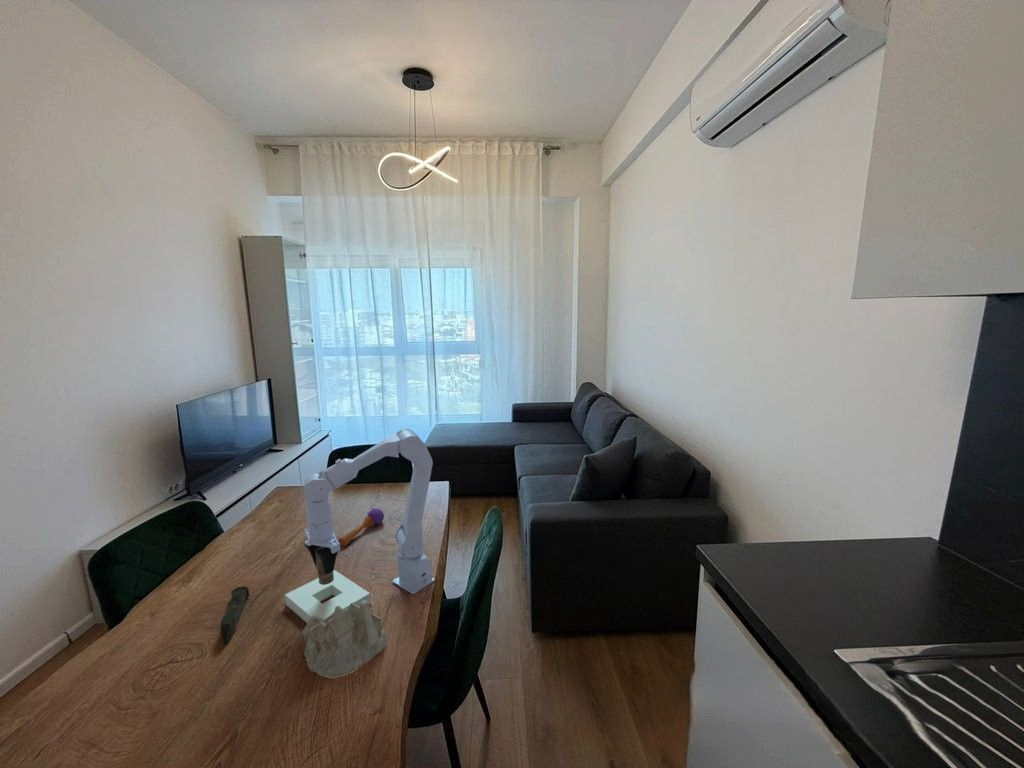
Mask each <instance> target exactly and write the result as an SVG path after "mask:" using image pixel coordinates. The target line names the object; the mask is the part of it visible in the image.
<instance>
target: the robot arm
mask: <svg viewBox="0 0 1024 768" xmlns="http://www.w3.org/2000/svg"><path fill="white" fill-rule="evenodd" d="M399 454H400V455H401V456H402V457H404V459H407V460H408V461H410V462H411V463H412V464H413V469H412V474H411V479H410V484H409V491H408V496H407V501H406V507H405V510H404V511H405V513H404V516H403V518H402V519H401V522H400V525H399V527H398V529H397V530H396V531H395V540H396V542H397V544H398V549H397V551H396V554H397V555H396V556H397V572H398V576H397V577H396V578H394V579H393V580H392V583H393V584H395V585H396V586H399V588H402V589H403V590H404V591H407V592H408V593H410V594H412V595H415V594H416V593H418V592H419V591H421V590H422V589H424V588H426V587H427V586H429V585H430V584H432V583H433V582H435V578H434V577H433V572H432V571H433V568H432V561H431V559H430V558H428V557H427V556H426V554H425V553H424V547H425V545H424V541H423V535H424V531H423V518H424V517H423V516H424V511H425V507H426V501H427V496H428V491H429V486H430V480H431V475H432V468H433V464H434V462H433V458H432V456H431V453H430V452H429V450H428V447H427V444H426V443H425V442H424V440H422V438H420V437H419V436H418V435H417V434H416V433H415V432H414V431H413V430H411V429H410V428H403V429H400V430H398V432H394V433H391V434H390V435H389V436H387V437H386V438H384V439H383V440H381V441H380V442H378V443H376V444H375V445H373V446H371V447H370V448H369V449H366V450H365V451H363V452H362V453H360V454H359V455H357V456H356V457H354V458H353V459H352V458H347V457H346V458H343V459H341V458H338V459H337V460H335V463H334V464H333V465H331V466H329V467H327V468H326V469H325V468H324V470H323V469H319V471H318V472H317V473H313V474H311V475H309V476H308V477H307V478H306V479H305V480H304V484H303V488H304V489H303V494H304V496H305V497H304V498H305V504H306V506H305V508H306V509H305V510H306V519H307V528H306V529H304V536H305V537H306V538H307V540H305V542H304V547H305V548H306V549H307V550H308V553H309V554H310V556H311V558H312V561H313V563H314V566H315V567H316V555H315V550H316V549H317V548H318V547H320V546H322V547H324V548H322V549H320V550H318V551H316V553H317V554H318V555H319V557H320V559H321V561H322V565H323V569H324V572H325V574H328V573H330V572H332V571H334V570H335V566H336V565H335V564H336V560H337V556H338V554H339V552H340V551H341V547H342V546H340V543H338V539H337V537H336V534H335V532H334V529H333V517H332V507H331V501H330V499H329V495H330V493H331V491H334V490H336V489H338V488H340V487H342V486H343V485H345V484H347V483H349V482H350V481H353V479H355V478H357V476H358V473H359V471H360V470H362V469H364V468H365V467H368V466H370V465H372V464H373V463H375V462H378V461H379V460H382V459H383V458H385V457H392V458H400V456H399Z"/></svg>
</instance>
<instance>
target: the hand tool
mask: <svg viewBox="0 0 1024 768" xmlns="http://www.w3.org/2000/svg"><path fill="white" fill-rule="evenodd" d="M230 595H231V598H230V600H229V601H228V603H227V610H226V612H225V615H223V616H222V619H221V621H220V633H221V637H222V641H223V645H227V644H228V643H229V641H230V640H231V639H232V637H233V636H234V634H235V632H236V629H237V623H238V621H239V619H240V616H241V615H242V614H241V613H242V610H243V608H244V606H245V602H246V599H248V598H249V596H250V591H249V588H248V587H247V586H238V587H236V588H234V589H233V590H232V591H231V594H230Z"/></svg>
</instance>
